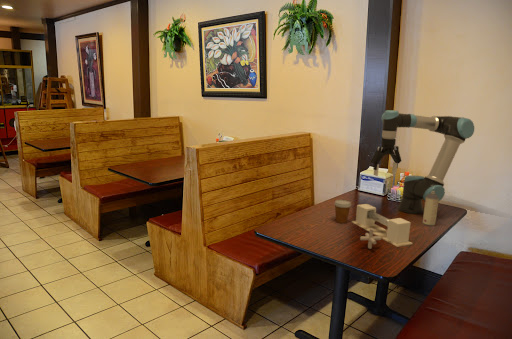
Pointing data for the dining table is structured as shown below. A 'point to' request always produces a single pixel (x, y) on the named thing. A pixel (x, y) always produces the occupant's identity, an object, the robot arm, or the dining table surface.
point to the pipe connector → (370, 238)
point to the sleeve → (364, 215)
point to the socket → (398, 230)
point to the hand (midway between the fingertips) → (384, 174)
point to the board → (381, 233)
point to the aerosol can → (430, 209)
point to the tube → (378, 218)
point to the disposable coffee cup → (342, 210)
